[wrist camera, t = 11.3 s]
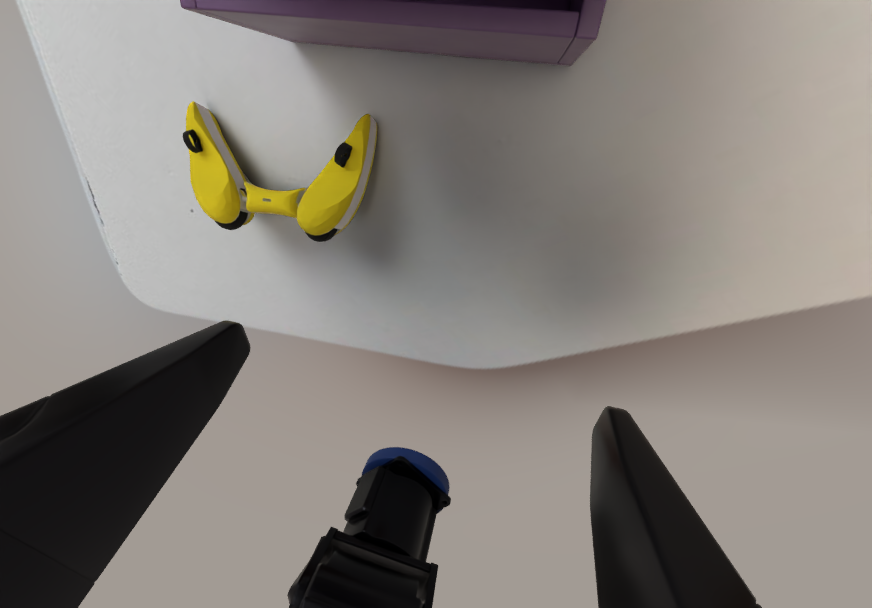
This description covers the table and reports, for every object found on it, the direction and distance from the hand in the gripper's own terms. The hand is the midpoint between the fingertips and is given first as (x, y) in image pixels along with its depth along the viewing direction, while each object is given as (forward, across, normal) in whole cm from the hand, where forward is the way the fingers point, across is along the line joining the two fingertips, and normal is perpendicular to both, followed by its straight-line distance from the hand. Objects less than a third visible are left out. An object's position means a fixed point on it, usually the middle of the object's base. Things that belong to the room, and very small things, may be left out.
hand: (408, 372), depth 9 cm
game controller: (+13, +11, 0) cm, 17 cm away
